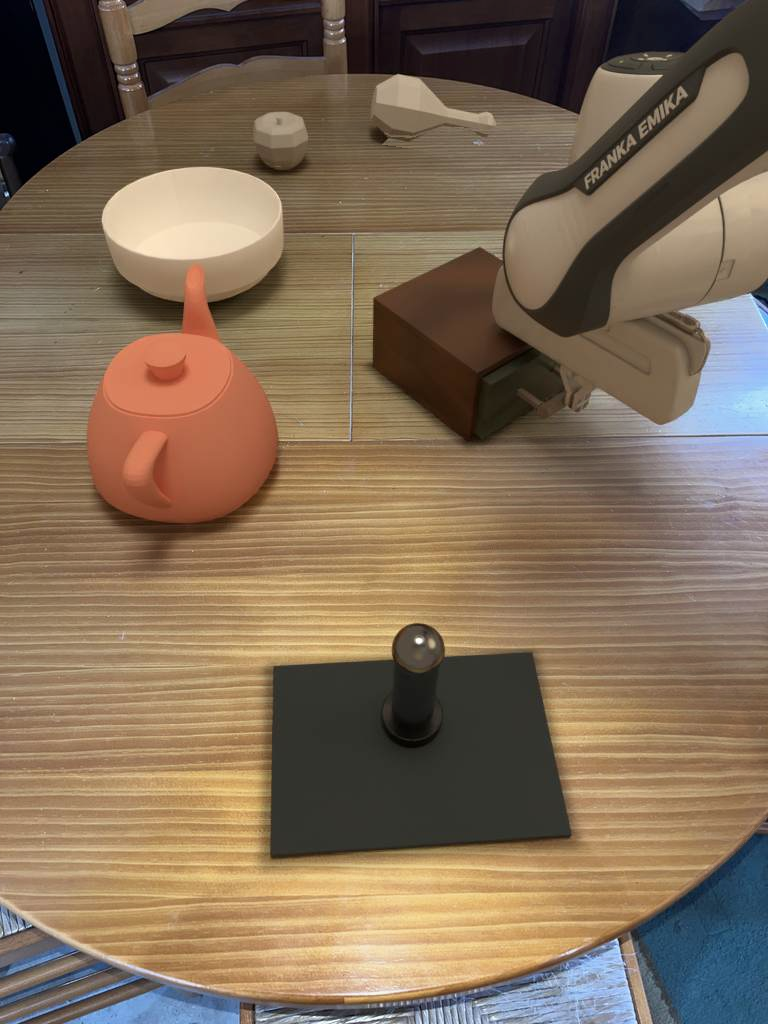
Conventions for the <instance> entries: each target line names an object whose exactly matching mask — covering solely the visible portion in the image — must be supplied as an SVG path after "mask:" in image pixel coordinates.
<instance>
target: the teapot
mask: <svg viewBox="0 0 768 1024" xmlns="http://www.w3.org/2000/svg"><path fill="white" fill-rule="evenodd" d="M182 316H183V317H182V325H181V333H174V332H171V333H157V334H151V335H147V336H144V337H140V338H138V339H136V340H134V341H133V342H131V343H129V344H128V345H126V346H125V347H124V348H122V349H121V351H119V352H118V353H117V354H116V355H115V357H114V358H113V359H112V360H111V361H110V363H109V365H108V366H107V368H106V370H105V372H104V374H103V375H102V377H101V380H100V382H99V385H98V388H97V390H96V392H95V396H94V398H93V401H92V403H91V407H90V411H89V414H88V415H89V416H88V420H87V428H86V454H87V462H88V468H89V472H90V475H91V478H92V481H93V484H94V487H95V488H96V490H97V492H98V494H99V495H100V496H101V497H102V499H104V500H105V501H106V502H107V503H108V504H110V505H111V506H112V507H114V508H115V509H117V510H119V511H121V512H123V513H125V514H128V515H131V516H133V517H134V516H135V517H137V518H141V519H144V520H148V521H154V522H159V523H160V522H161V523H168V524H169V523H171V524H194V523H195V524H196V523H204V522H210V521H213V520H217V519H220V518H222V517H225V516H227V515H229V514H231V513H232V512H234V511H236V510H238V509H239V508H240V507H242V506H243V505H245V504H246V503H247V502H248V501H249V500H250V499H252V497H253V496H254V495H255V494H256V493H257V492H258V491H259V490H260V488H261V487H262V486H263V485H264V483H265V482H266V480H267V479H268V477H269V476H270V473H271V472H272V469H273V467H274V464H275V461H276V458H277V454H278V451H279V431H278V426H277V420H276V416H275V415H274V410H273V408H272V405H271V402H270V400H269V398H268V395H267V393H266V392H265V390H264V388H263V386H262V385H261V383H260V382H259V380H258V378H257V377H256V376H255V374H254V373H253V372H252V371H251V370H250V369H249V368H248V366H247V365H246V364H245V363H244V362H243V361H242V360H241V359H240V358H239V357H238V356H237V355H236V354H235V353H234V352H233V351H232V350H231V349H229V348H228V347H227V346H226V345H224V344H223V343H222V339H221V337H220V334H219V332H218V329H217V327H216V324H215V322H214V319H213V317H212V313H211V310H210V308H209V304H208V303H207V300H206V293H205V275H204V270H203V268H202V266H201V265H200V264H194V265H192V266H191V267H190V268H189V270H188V272H187V275H186V279H185V298H184V302H183V314H182Z"/></svg>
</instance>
